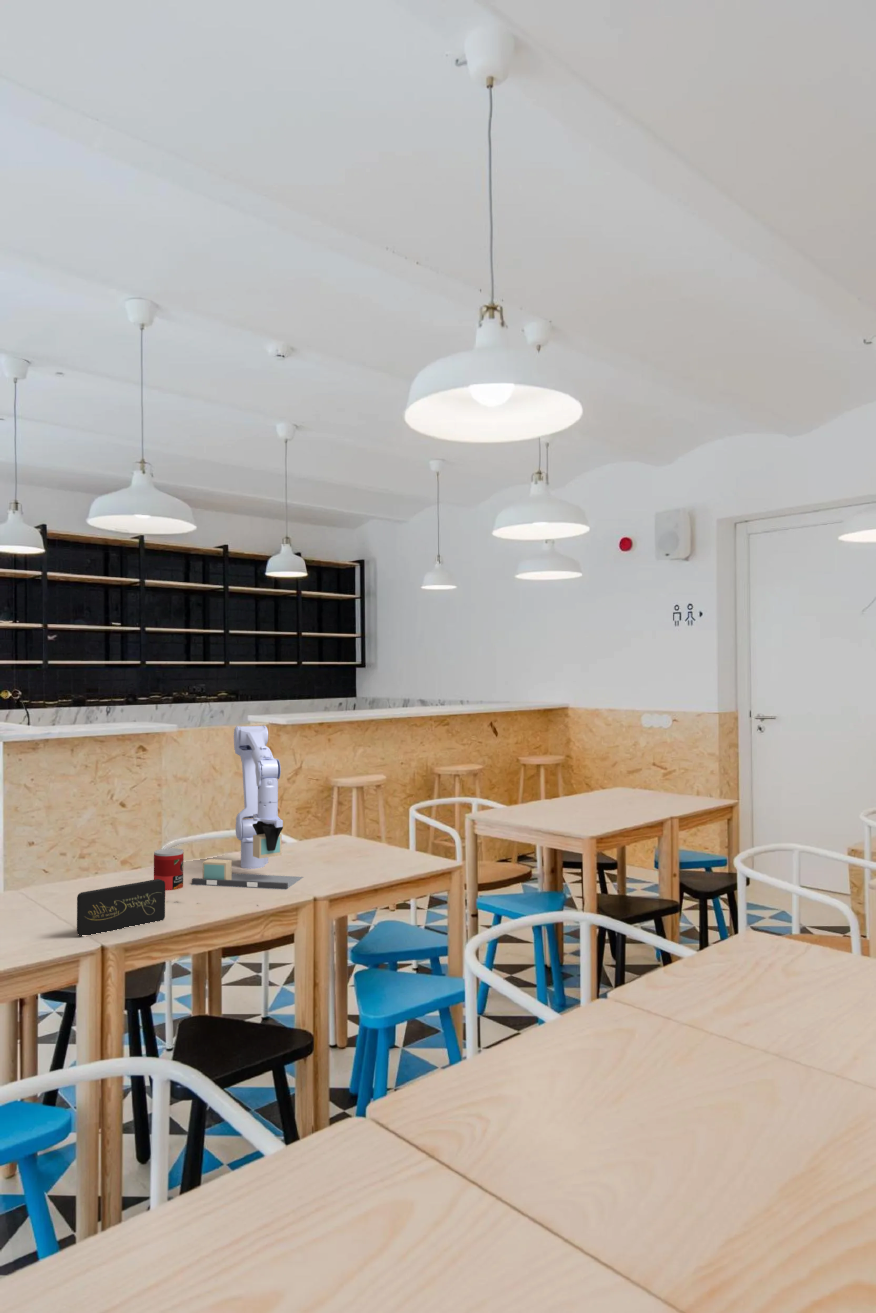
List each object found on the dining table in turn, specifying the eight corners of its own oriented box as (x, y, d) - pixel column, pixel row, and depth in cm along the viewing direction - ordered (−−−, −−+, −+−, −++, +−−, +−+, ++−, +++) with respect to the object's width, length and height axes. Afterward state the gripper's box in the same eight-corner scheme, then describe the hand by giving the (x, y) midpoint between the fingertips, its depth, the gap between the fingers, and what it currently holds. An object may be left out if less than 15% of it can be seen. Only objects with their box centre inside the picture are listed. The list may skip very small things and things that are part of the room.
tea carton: (274, 852, 259) (274, 832, 259) (281, 855, 256) (281, 834, 256) (252, 856, 255) (253, 835, 255) (259, 858, 251) (259, 837, 251)
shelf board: (213, 875, 265) (213, 867, 265) (303, 880, 260) (303, 871, 260) (190, 888, 250) (191, 879, 250) (285, 893, 245) (286, 884, 245)
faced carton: (231, 881, 254) (231, 860, 254) (225, 884, 250) (225, 863, 250) (208, 880, 255) (208, 859, 255) (202, 883, 251) (202, 862, 251)
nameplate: (161, 918, 220) (161, 878, 220) (164, 920, 219) (165, 879, 219) (76, 936, 206) (77, 892, 206) (80, 938, 204) (80, 894, 204)
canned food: (178, 894, 243) (178, 853, 243) (149, 893, 243) (149, 853, 244) (186, 887, 251) (187, 848, 251) (158, 886, 251) (159, 847, 251)
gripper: (243, 799, 259) (243, 846, 258) (267, 806, 247) (266, 855, 247) (265, 797, 263) (265, 843, 263) (289, 803, 252) (289, 851, 251)
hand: (267, 849), depth 255 cm, fingers closed on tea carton, 4 cm apart
